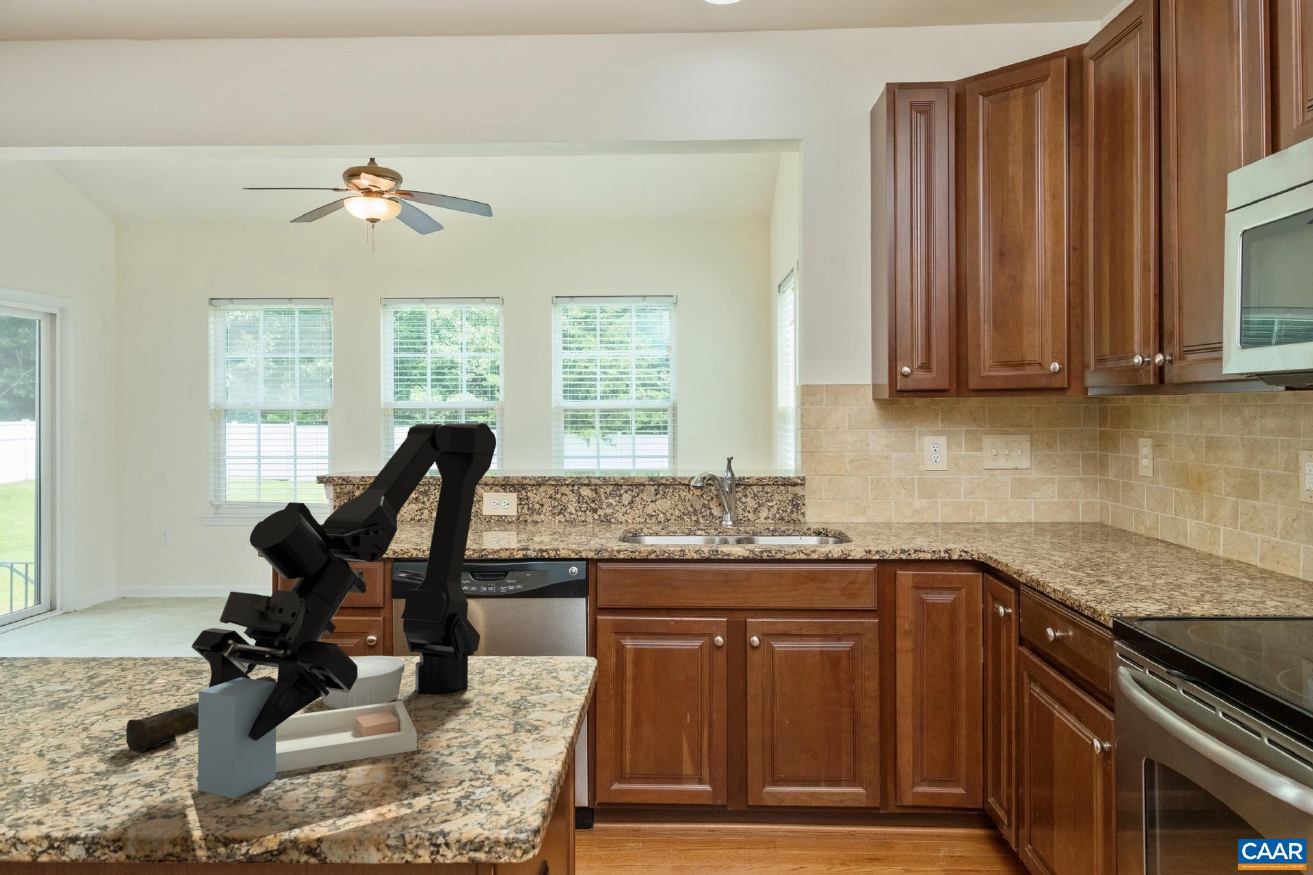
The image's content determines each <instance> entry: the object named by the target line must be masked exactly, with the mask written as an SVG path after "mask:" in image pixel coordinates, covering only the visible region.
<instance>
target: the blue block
mask: <svg viewBox="0 0 1313 875" xmlns="http://www.w3.org/2000/svg"><path fill="white" fill-rule="evenodd" d="M256 679H257V678H251V679H249V678H243V677H240V678H237V679H234V680H231V681H228V682H225V683H222V684H219V685H216V686H213V687H209V686H208V687H207V688H204V689H201V690H198V702H199V708H198V729H197V730H198V731H197V734H198V736H197V737H198V738H197V742H198V743H197V744H198V745H197V746H198V747H197V792H198V791H199V792H202V793H208V794H212V795H215V796H220V797H225V798H229V799H232V800H235V799H237V798H239V797H241V796H243V795H246V794H247V793H250V792H251V791H254V790H256V789H258V788H260V787H262V786H265V785H267V784H268V783H270V782H272V781H274V780H276V778H277V773H276V727H275V728H274V729H272V730H271V731H270V732H268V733H267V734H266V735H264V736H263V737H261V738H260V739H259V740H257V741H253V740H252V739H251V738H249V736H248V734H249V732H250V730H251V728H252V726H253V724H254V722H255V720H256V718H257V716H258V715H259V713H260V711H261V710H262V708H263V706H264V704H265V703H266V701H267V699H268V698H269V696H270V694H271V692H272V691H273V689H274V687H275V686H276V683H275V682H268V681H262V680H256Z"/></svg>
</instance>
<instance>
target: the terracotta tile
mask: <svg viewBox="0 0 1313 875" xmlns="http://www.w3.org/2000/svg"><path fill="white" fill-rule="evenodd" d="M355 730H356V731H357V732H358V734H359V735H360V736H361V737H368V736H374V735H381V734H388V733H395V732H398V719H396V718H395V717H394V716H393V715H392V714H391V713H390V712H389V711H385V712H380V713H375V714H370V715H364V716H359V717H355Z"/></svg>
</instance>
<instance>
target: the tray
mask: <svg viewBox="0 0 1313 875" xmlns="http://www.w3.org/2000/svg"><path fill="white" fill-rule="evenodd" d="M385 711H389V712H390V713H391V714H392V715H393V716H394V717H395V718H396V719H398V732H395V733H388V734H381V735H374V736H368V737H361V736H360V735H359V734H358V732H357V731H356V730H355V717H359V716H364V715H370V714H375V713H380V712H385ZM417 733H418V732H417V729H416V728H415V725H414V724H413V721H412V719H411V717H410V715H409V713H408V711H407V708H406V706H405V704H404V702H403V701H402V700H398V701H390V702H388V703H381V704H374V705H366V706H359V707H351V708H343V709H339V708H335V709H331V710H322V711H314V712H308V713H307V712H306V713H299V714H293V715H292V716H291V717H289V718H288V719H286V720H285V721H284V722H282V723H281V724H279V725H278V726H277V727H276V774H278V773H283V772H289V771H296V770H302V769H309V768H313V767H321V766H326V765H334V764H338V763H340V764H341V763H345V762H352V761H357V760H364V759H371V758H376V757H377V758H378V757H383V756H391V755H395V754H402V753H408V752H414V751H418V750H417V748H418V745H417V743H418V739H417V738H418V736H417V735H418V734H417Z"/></svg>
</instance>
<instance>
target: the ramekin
mask: <svg viewBox="0 0 1313 875" xmlns="http://www.w3.org/2000/svg"><path fill="white" fill-rule="evenodd" d="M350 658H351V659H352V660H353V662H354V663H355V664H356V665H357V668H358V677H357V679H356V681H355V683H354V684H353V686H352V688H351V690H350V691H349V693H345V692H339V691H332V690H329V689H328V688H326V689H327V690H328V691H329V692H330V693H329V695H328V696H327V697H321V699H322V703H323V704H324V706H327V707H328V708H333V709H343V708H351V707H359V706H366V705H374V704H381V703H389V702H393V700H396V699H397V698H398V696H399V694H400V689H401V683H402V677H403V673H404V671H405V662H404V661H403V660H402V659H400V658H397V657H395V656H391V655H390V656H389V655H367V656H365V655H364V656H357V657H350Z"/></svg>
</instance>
